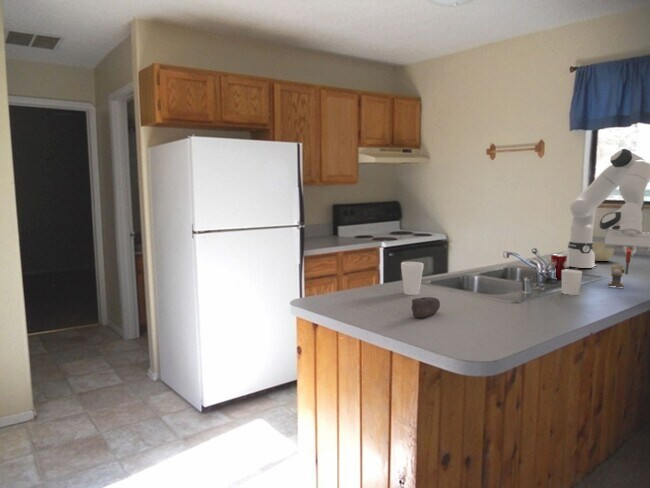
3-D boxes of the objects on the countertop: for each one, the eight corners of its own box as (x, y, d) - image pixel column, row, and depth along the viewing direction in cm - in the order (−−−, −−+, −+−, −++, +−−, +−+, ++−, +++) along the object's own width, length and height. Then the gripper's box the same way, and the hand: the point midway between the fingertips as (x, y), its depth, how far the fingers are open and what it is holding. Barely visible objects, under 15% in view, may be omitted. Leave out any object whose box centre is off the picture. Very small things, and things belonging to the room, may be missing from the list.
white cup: (585, 295, 211) (586, 271, 209) (571, 296, 208) (572, 273, 206) (569, 291, 218) (571, 268, 217) (556, 292, 215) (557, 270, 214)
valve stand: (609, 283, 235) (610, 264, 234) (623, 284, 232) (624, 265, 231) (608, 287, 226) (610, 267, 225) (623, 288, 224) (624, 268, 223)
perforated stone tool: (433, 311, 185) (434, 292, 184) (445, 314, 181) (445, 295, 180) (406, 317, 175) (406, 298, 174) (417, 321, 171) (418, 301, 170)
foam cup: (397, 294, 212) (398, 264, 210) (404, 290, 220) (405, 261, 218) (419, 296, 207) (419, 265, 206) (425, 292, 216) (426, 262, 214)
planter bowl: (614, 260, 304) (616, 242, 303) (613, 264, 291) (615, 245, 289) (585, 258, 313) (586, 241, 312) (582, 261, 299) (584, 243, 298)
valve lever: (624, 271, 229) (626, 248, 218) (628, 271, 228) (631, 248, 217) (624, 275, 227) (626, 252, 217) (628, 275, 226) (631, 252, 216)
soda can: (550, 279, 244) (552, 255, 242) (548, 277, 251) (550, 253, 249) (566, 280, 242) (568, 256, 240) (564, 277, 249) (565, 254, 247)
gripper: (656, 237, 225) (656, 262, 218) (605, 235, 235) (603, 258, 228) (658, 228, 221) (658, 253, 214) (605, 226, 231) (603, 249, 224)
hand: (629, 256), depth 221 cm, fingers closed, pressing on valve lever
